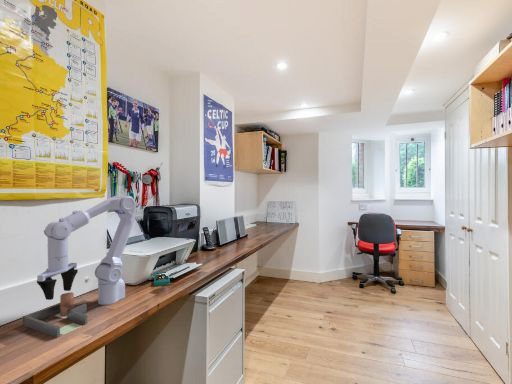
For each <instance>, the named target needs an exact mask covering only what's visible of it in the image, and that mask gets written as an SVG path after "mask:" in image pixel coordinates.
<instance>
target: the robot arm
mask: <svg viewBox="0 0 512 384" xmlns="http://www.w3.org/2000/svg"><path fill="white" fill-rule="evenodd" d="M136 208H137V202H136V200H135V199H134V198H133V197H132V196H130V195H113V196H112V197H108V198H106V199H105V200H103V201H101V202H99V203H97V204H96V205H93V206H92V207H90V208H88V209H87V210H85V211H83V210H73V211H71V212H72V213H71V214H69V215H68V216H65V217H59V219H58V221H51V222H49V223H47V226H45V229H44V230H43V234H44V235H45V236H46V237H47V268H46V269H45V271H43V272H42V273H40V274H38V275H37V276H36V278H37V279H36V283H37V285H39V286H38V287H40V288H41V290H42V292H43V294H44V298H45V300H46V301H47V300H48V301H51V300H53V299H54V297H55V296H54V295H55V286H56V282H57V280H58V279H54V278H52V277H55V276H58V275H61V279H62V287H63V291H65V292H71V291H72V288H73V287H72V286H73V283H74V280H75V277H76V275H77V274H78V273H79V270H78V269H77V268H78V267H77V262H70V263H69V246H68V245H69V242H68V238H69V237H70V235H71V233H73V232H75V231H77V230H78V229H80V228H83V227H84V226H86V225H88V224H89V222H90V220H91V219H92V218H95V217H97V216H99V215H101V214H104V213H105V212H107V211H110V210H111V211H113V212H115V214H117V215H118V217H119V222H118V226H117V228H116V231H115V232H114V235H113V239H112V240H111V243H110V246H109V249H108V250H107V251H108V252H107V254H106V256H105V257H103V258H102V259H100V260H101V261H100V263H99V264H98V265H97V266H96V268H95V269H94V276H95V277H96V278H97V283H98V284H97V287H98V288H97V299H98V300H97V303H98V304H99V305H103V306H104V305H105V306H107V305H112V304H115V303H116V302H118V301H120V300H122V299H125V298H126V282H125V281H124V279H123V278H122V274H123V266H124V265H123V262H122V256H123V254H124V251H125V248H126V246H127V243H128V240H129V238H130V235H131V231H132V229H133V226H134V224H135V221H136Z"/></svg>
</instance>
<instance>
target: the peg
mask: <svg viewBox="0 0 512 384" xmlns="http://www.w3.org/2000/svg"><path fill="white" fill-rule="evenodd" d="M74 294H75V293H74V292H73V291H72V292H71V291H69V292H65V293H62V294H60V298H59V301H60V311H61V312H60V313H61V316H67V311H68V310H70V309H73V308H75V295H74Z"/></svg>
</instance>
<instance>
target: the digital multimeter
mask: <svg viewBox="0 0 512 384" xmlns="http://www.w3.org/2000/svg"><path fill="white" fill-rule="evenodd" d="M166 272H167V271H160V272H159V271H158V272H155V273H154V274H153V275H154V276H153V278H154V279H153V286H154V287H162V286H168V285H169V286H170V283H171V280H170V276H169V277H168V276H166V275H165V274H161V275H156V274H159V273H166ZM162 276H165V277H164V278H162ZM159 277H161V278H159Z"/></svg>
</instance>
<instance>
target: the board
mask: <svg viewBox="0 0 512 384" xmlns="http://www.w3.org/2000/svg"><path fill="white" fill-rule="evenodd" d="M53 316H54V317H58V318H61V319H64V320H65V319H67V316H61V312H58V313H56V314H53ZM81 327H82V325H81V324H77V323H76V322H75V323H74V322H71V323H69V324H66V325H64V326H62V327H60V335H63V336H64V335H67V334H69V333H71V332H73V331H75V330H77V329H79V328H81Z"/></svg>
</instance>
